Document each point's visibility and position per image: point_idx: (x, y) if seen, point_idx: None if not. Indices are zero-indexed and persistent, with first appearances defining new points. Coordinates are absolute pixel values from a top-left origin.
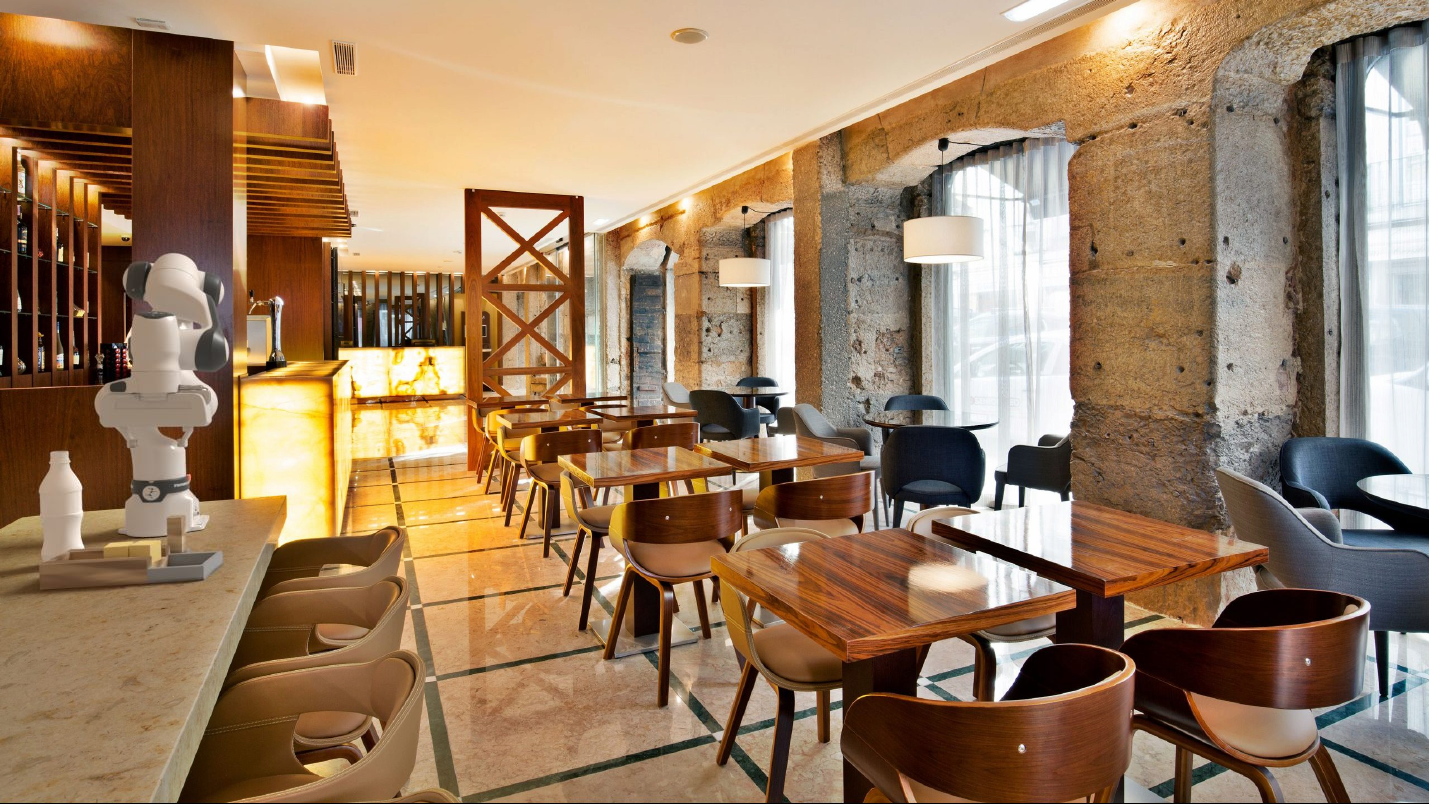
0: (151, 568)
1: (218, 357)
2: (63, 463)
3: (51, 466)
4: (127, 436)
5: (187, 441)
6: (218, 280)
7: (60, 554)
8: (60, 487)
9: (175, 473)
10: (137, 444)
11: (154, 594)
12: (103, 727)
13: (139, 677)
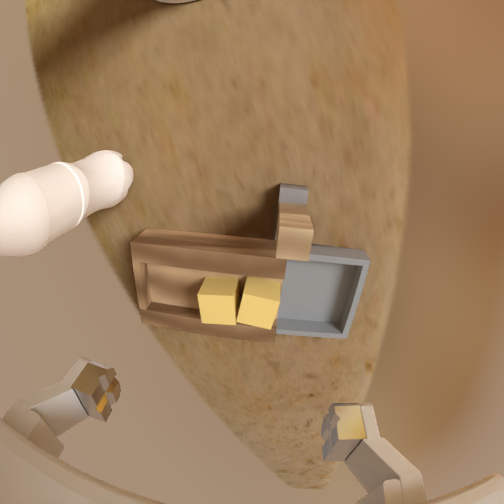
0: (280, 332)
1: None
2: None
3: None
4: (72, 426)
5: (375, 423)
6: None
7: (134, 273)
8: (30, 254)
9: None
10: (108, 381)
11: (294, 360)
12: (307, 477)
13: (313, 460)
